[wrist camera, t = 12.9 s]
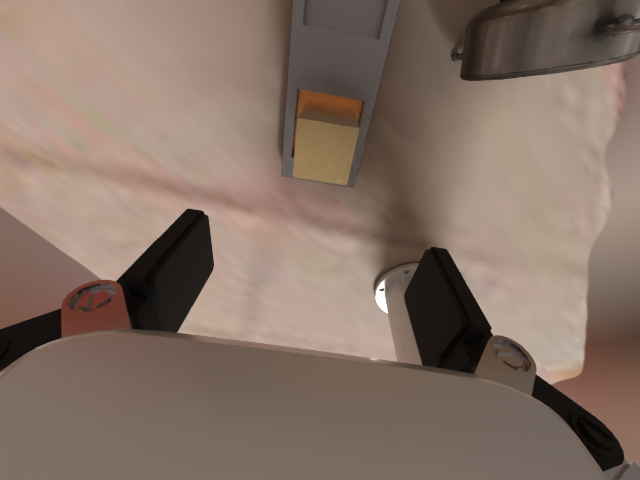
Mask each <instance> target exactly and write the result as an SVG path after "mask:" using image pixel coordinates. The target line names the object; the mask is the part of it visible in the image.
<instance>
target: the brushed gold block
mask: <svg viewBox="0 0 640 480" xmlns="http://www.w3.org/2000/svg"><path fill="white" fill-rule="evenodd" d="M359 129H360V128H359V125H358V122H357V119H356V115H355V112H354V109H353V108H348V107H343V106H337V105H331V104H325V103H319V102H313V101H308V100H307V102H306V104H305V106H304V108H303V109H302V111H301V113H300V115H299V117H298V121H297V133H296V144H295V155H294V166H293V177H296V178H302V179H308V180H315V181H321V182H327V183H334V184H340V185H347V182H348V178H349V173H350V169H351V165H352V160H353V156H354V151H355V147H356V142H357V138H358V133H359Z"/></svg>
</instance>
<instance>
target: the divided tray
mask: <svg viewBox="0 0 640 480" xmlns="http://www.w3.org/2000/svg"><path fill="white" fill-rule="evenodd" d="M399 4H400V0H293V8H292V23H291V38H290V53H289V68H288V83H287V98H286V112H285V127H284V142H283V157H282V172H281V176H284V177H290V178H296V177H293V166H294V155H295V144H296V133H297V121H298V117H299V115H300V113H301V111H302V109H303V108H304V106H305V104H306V102H307V100H308V101H313V102H319V103H325V104H331V105H337V106H343V107H348V108H353V109H354V112H355V115H356V119H357V122H358V125H359V128H360V129H359V133H358V138H357V142H356V147H355V151H354V156H353V160H352V165H351V169H350V173H349V178H348V182H347V185H340V184H334V183H327V182H321V181H315V180H308V179H302V178H296V179H302V180H308V181H314V182H321V183H327V184H333V185H339V186H345V187H351V188H354V185H355V181H356V177H357V173H358V169H359V165H360V161H361V157H362V153H363V149H364V145H365V141H366V137H367V133H368V129H369V125H370V121H371V117H372V113H373V109H374V105H375V101H376V97H377V93H378V89H379V85H380V81H381V77H382V73H383V69H384V65H385V61H386V56H387V52H388V48H389V44H390V40H391V36H392V32H393V28H394V24H395V20H396V16H397V12H398V8H399Z"/></svg>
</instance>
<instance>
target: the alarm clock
mask: <svg viewBox="0 0 640 480" xmlns="http://www.w3.org/2000/svg"><path fill="white" fill-rule="evenodd" d="M639 54H640V0H500V3H499V4H496V5H494V6H491V7H489V8H487V9H485V10H483V11H481V12H480V13H478V14H477V15H476V16H475V17H474V18H473V19H472V20H471V21H470V23H469V24H468V26H467V28H466V33H465V41H464V50H463V53H460V54H458V53H455V54H454V55H453V56H452V60H453V61H456V60H458V59H459V60H462V67H461V75H460V77H461V79H463V80H468V81H481V80H501V79H509V78H518V77H527V76H535V75H546V74H553V73H561V72H568V71H575V70H581V69H588V68H594V67H599V66H605V65H610V64H614V63H619V62H623V61H627V60H630V59H634V58H635V57H637V56H638V55H639Z"/></svg>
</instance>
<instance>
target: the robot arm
mask: <svg viewBox="0 0 640 480" xmlns="http://www.w3.org/2000/svg"><path fill="white" fill-rule="evenodd" d="M213 267H214V261H213V252H212V243H211V235H210V226H209V218H208V216H207V215H205V214H204V212H203V211H200V210H194V209H187V210H186V211H185V212H184V213H183V214H182V215H181V216H180V217H179V218H178V219H177V220H176V221H175V222H174V223H173V224H172V225H171V226H170V227H169V228H168V229H167V230H166V231H165V232H164V233H163V234H162V235H161V236H160V237H159V238H158V239H157V240H156V241H155V242H154V243H153V244H152V245H151V246H150V247H149V248H148V249H147V250H146V251H145V252H144V253H143V254H142V255H141V256H140V257H139V258H138V259H137V260H136V261H135V262H134V263H133V264H132V266H131V267H130V268H129V269H128V270H127V271H126V272H125V273H124V274H123V275H122V276H121V277H120V278H119V279H118V280H117V281H116V282H115V281H111V280H98V281H92V282H89V283H86V284H83V285H81V286H79V287H78V288H76V289H74V290H73V291H72V292H70V293H69V294H68V295H67V296H66V297H65V298H64V300H63V302H62V306H61V309H58V310H55V311H53V312H50V313H47V314H44V315H41V316H38V317H35V318H32V319H29V320H26V321H23V322H21V323H18V324H15V325H12V326H9V327H6V328H3V329H0V480H640V467H639V466H638V465H637V464H636V463H635V462H631V463H627V461H626V460H625V459H624V454H623V450H622V448H621V446H620V444H619V442H618V440H617V439H616V438H615V436H614V435H613V433H612V432H611V431H610V430H609V429H608V428H607V427H606V426H605V425H604V424H603V423H602V422H601V421H599V420H598V419H597V418H596V417H595V416H593V415H592V414H590V413H589V412H587V411H586V410H585V409H583V408H582V407H581V406H579V405H578V404H577V403H575V402H574V401H572V400H571V399H570V398H568V397H567V396H565V395H564V394H563V393H561V392H560V391H558V390H557V389H555V388H554V387H553V386H551V385H550V384H549V383H547V382H546V381H544V380H543V379H542V378H540V377H539V376H538V375H536V364H535V362H534V359H533V358H532V357H531V355H530V354H529V353H528V352H527V351H526V350H525V349H524V348H523V347H522V346H521V345H520V344H518V343H517V342H515V341H514V340H512V339H510V338H507V337H504V336H498V335H495V336H493V335H492V333H491V331H490V330H491V329H492V328H491V326H490V325H489V323H488V321H487V319H486V317H485V316H484V314H483V312H482V310H481V309H480V307H479V305H478V303H477V302H476V300H475V298H474V296H473V295H472V293H471V291H470V289H469V288H468V286H467V284H466V282H465V280H464V279H463V277H462V275H461V273H460V272H459V270H458V268H457V266H456V265H455V263H454V261H453V259H452V258H451V256H450V254H449V252H448V251H447V249H443V248H436V247H431V248H430V249H429V250H426V251H425V253H424V255H423V257H422V259H421V261H420V263H411V264H405V265H401V266H398V267H396V268H394V269H392V270H390V271H388V272H387V273H386V274H384V275H383V276H382V277H381V278H380V280H379V281H378V282H377V285H376V287H375V298H376V302H377V304H378V305H379V307H380V308H381V309H382V310H384V311H385V312H387V313H388V318H389V323H390V328H391V333H392V337H393V342H394V347H395V352H396V357H397V362H395V361H388V360H381V359H373V358H366V357H359V356H352V355H345V354H337V353H330V352H323V351H315V350H308V349H300V348H293V347H285V346H278V345H270V344H263V343H255V342H247V341H239V340H232V339H224V338H216V337H208V336H200V335H191V334H182V333H177V332H178V330H179V328H180V327H181V325H182V323H183V321H184V320H185V318H186V316H187V314H188V313H189V311H190V309H191V307H192V306H193V304H194V302H195V301H196V299H197V297H198V295H199V294H200V292H201V290H202V288H203V287H204V285H205V283H206V281H207V280H208V278H209V276H210V274H211V273H212V271H213Z"/></svg>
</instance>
